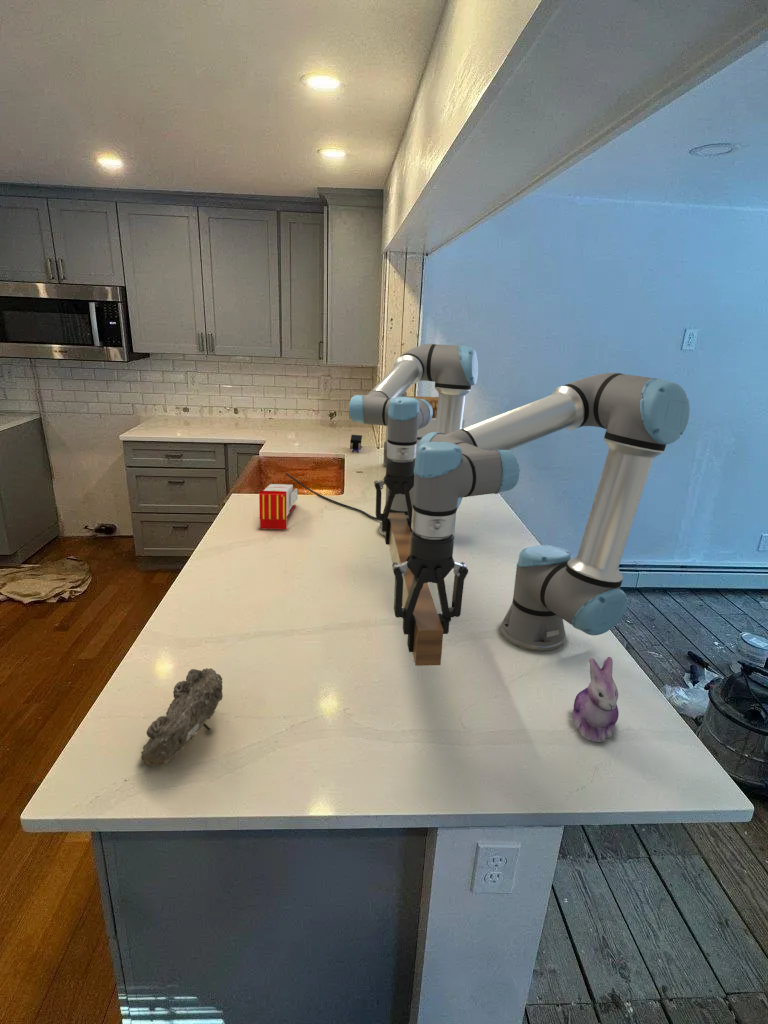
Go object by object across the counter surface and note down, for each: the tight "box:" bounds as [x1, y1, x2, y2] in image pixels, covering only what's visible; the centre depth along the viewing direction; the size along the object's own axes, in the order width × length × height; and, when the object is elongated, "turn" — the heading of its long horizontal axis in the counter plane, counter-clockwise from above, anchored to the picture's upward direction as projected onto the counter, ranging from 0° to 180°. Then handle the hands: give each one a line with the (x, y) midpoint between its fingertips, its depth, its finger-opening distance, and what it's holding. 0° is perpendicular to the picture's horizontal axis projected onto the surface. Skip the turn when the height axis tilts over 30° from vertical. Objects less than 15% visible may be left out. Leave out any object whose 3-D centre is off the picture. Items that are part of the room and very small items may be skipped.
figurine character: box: [349, 434, 363, 453], centre depth 311 cm, size 7×8×15 cm
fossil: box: [140, 667, 224, 767], centre depth 103 cm, size 22×10×15 cm
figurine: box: [571, 656, 620, 743], centre depth 107 cm, size 9×10×15 cm
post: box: [388, 513, 444, 667], centre depth 129 cm, size 60×5×7 cm, turn 5°
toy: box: [258, 483, 299, 530], centre depth 210 cm, size 12×13×30 cm
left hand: (396, 542), depth 153 cm, fingers closed on post, 5 cm apart
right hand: (424, 647), depth 106 cm, fingers closed on post, 5 cm apart
